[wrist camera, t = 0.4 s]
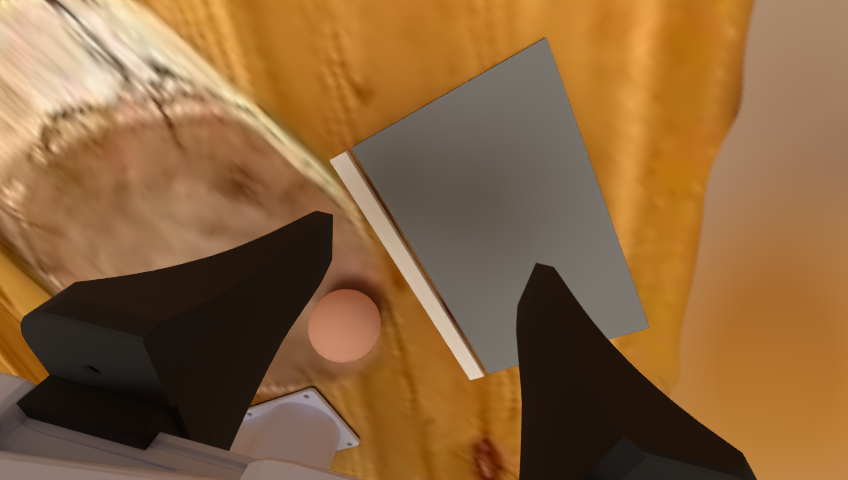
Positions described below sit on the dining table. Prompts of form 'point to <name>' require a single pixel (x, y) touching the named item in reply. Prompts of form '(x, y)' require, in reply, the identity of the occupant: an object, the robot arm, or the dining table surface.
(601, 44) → the dining table surface
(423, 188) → the mat
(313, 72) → the dining table surface
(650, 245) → the dining table surface
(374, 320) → the ball
